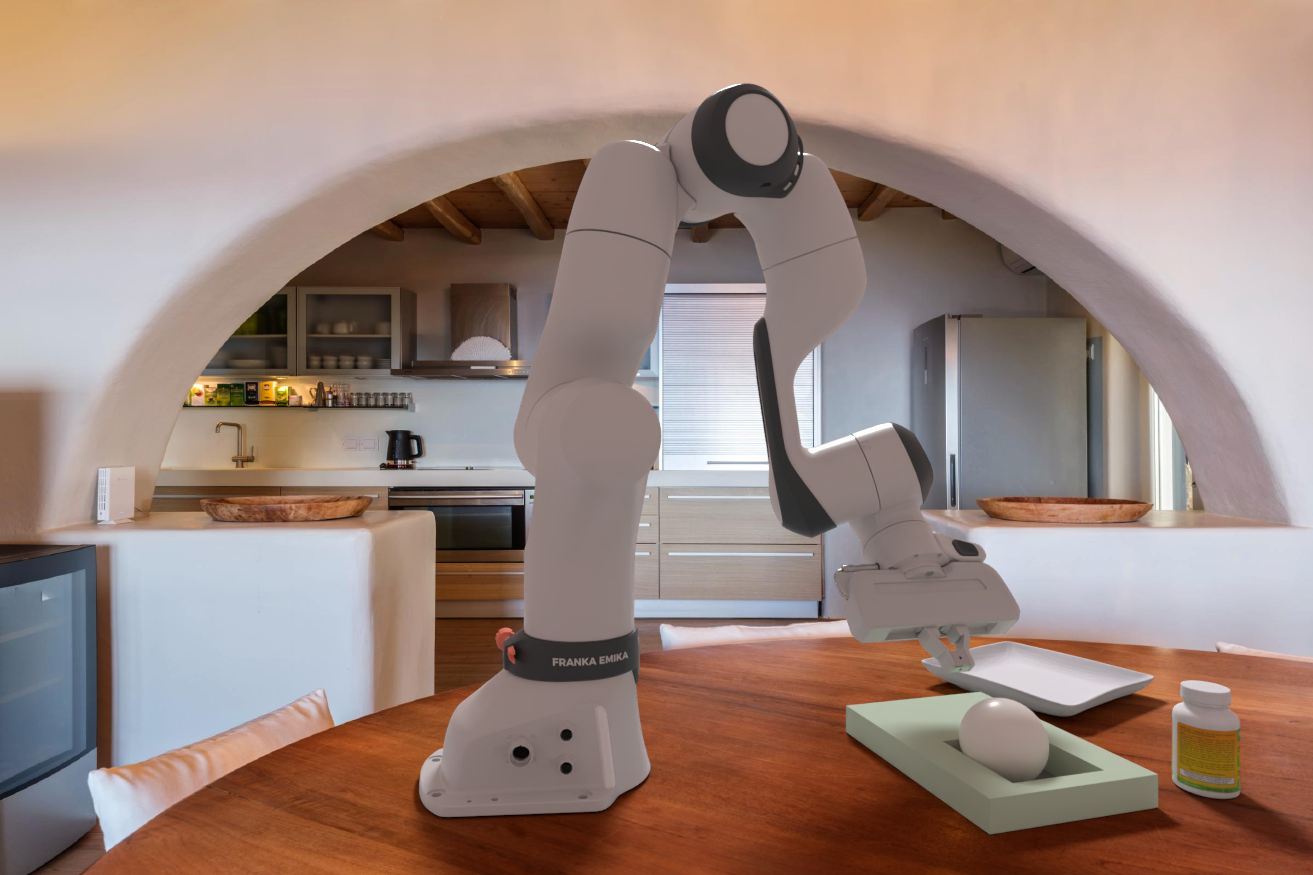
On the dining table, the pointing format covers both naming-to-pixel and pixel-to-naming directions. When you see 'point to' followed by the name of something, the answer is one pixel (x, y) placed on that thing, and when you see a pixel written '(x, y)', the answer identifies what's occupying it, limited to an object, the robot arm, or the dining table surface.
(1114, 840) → the dining table surface
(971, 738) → the ball
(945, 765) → the putting deck
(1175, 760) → the supplement bottle
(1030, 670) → the salad plate
